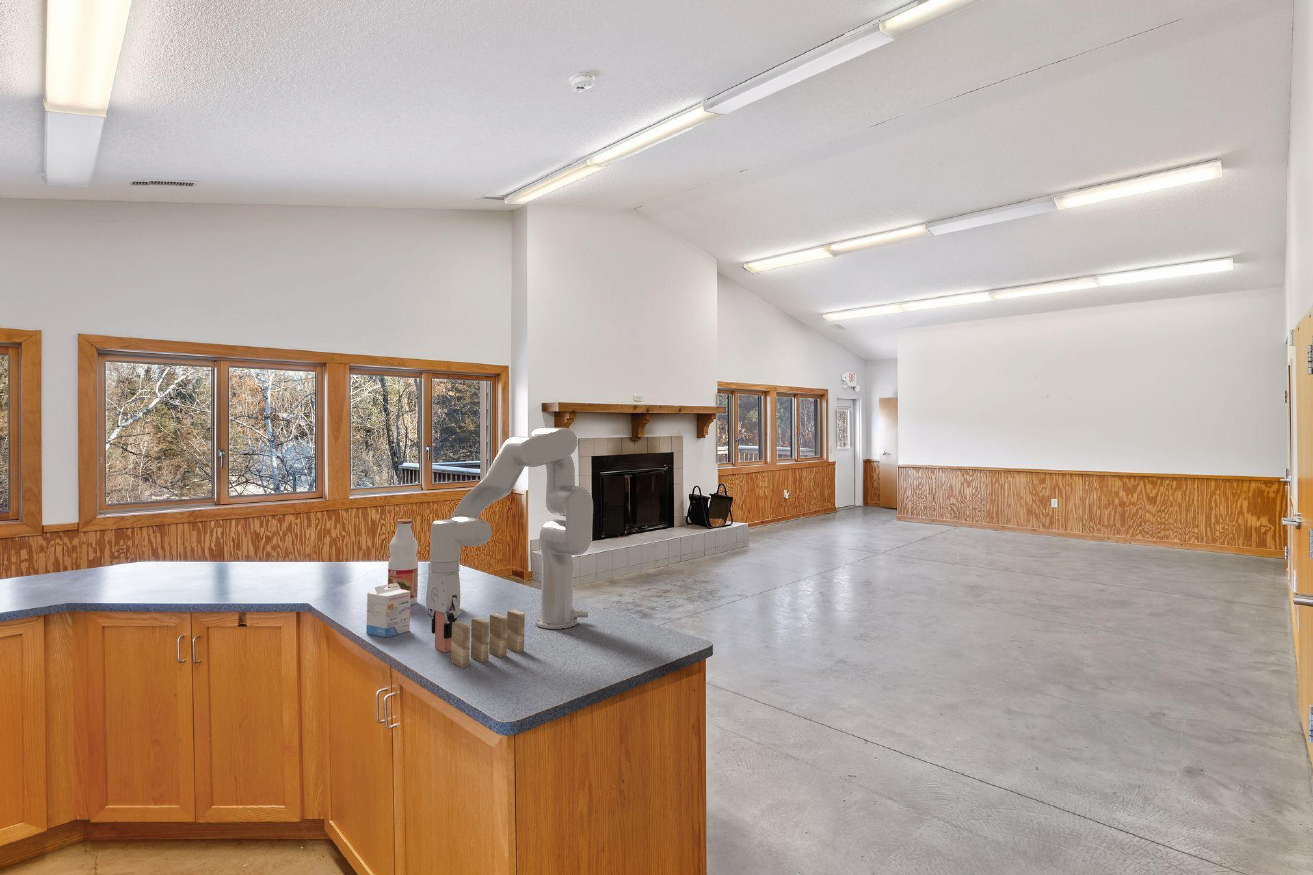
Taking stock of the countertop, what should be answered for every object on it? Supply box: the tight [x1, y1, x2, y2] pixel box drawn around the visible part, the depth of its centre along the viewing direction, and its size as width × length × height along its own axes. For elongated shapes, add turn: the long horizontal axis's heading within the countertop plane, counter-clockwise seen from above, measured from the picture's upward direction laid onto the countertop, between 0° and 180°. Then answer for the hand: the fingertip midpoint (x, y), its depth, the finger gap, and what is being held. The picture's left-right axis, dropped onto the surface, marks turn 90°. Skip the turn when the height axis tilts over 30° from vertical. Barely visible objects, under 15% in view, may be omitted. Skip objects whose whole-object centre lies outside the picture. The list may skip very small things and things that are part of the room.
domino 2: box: [450, 620, 471, 668], centre depth 168 cm, size 2×5×10 cm, turn 47°
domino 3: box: [470, 616, 490, 663], centre depth 172 cm, size 2×5×10 cm, turn 47°
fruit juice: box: [387, 518, 419, 606], centre depth 225 cm, size 9×9×28 cm
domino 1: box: [434, 611, 452, 653], centre depth 179 cm, size 2×5×10 cm, turn 47°
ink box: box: [365, 583, 411, 639], centre depth 193 cm, size 9×8×13 cm
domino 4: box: [488, 613, 508, 658], centre depth 176 cm, size 2×5×10 cm, turn 47°
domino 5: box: [506, 609, 526, 653], centre depth 180 cm, size 2×5×10 cm, turn 47°
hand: (443, 634), depth 179 cm, fingers open, 5 cm apart
